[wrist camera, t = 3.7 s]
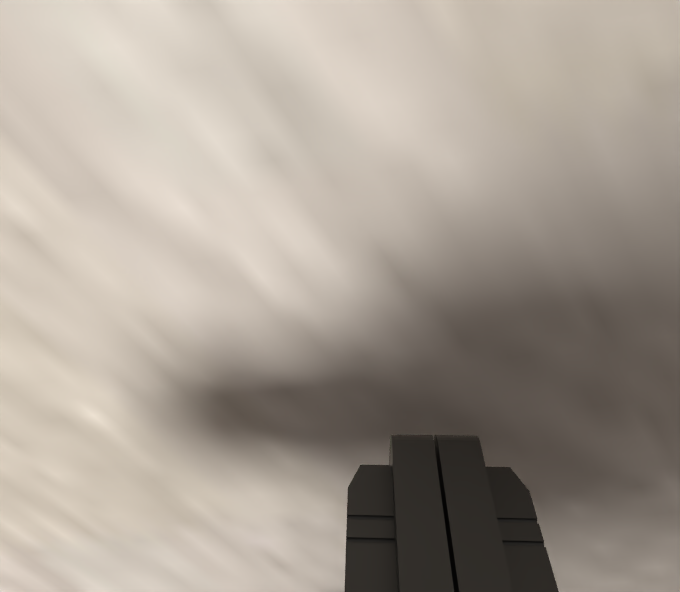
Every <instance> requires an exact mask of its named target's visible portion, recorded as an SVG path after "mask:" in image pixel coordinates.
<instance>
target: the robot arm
mask: <svg viewBox="0 0 680 592" xmlns="http://www.w3.org/2000/svg"><path fill="white" fill-rule="evenodd" d="M345 592H559V591H558V588H557V584H556V581H555V578H554V574H553V571H552V567H551V564H550V561H549V557H548V554H547V550H546V547H544V540H543V537H542V533H541V530H540V527H539V524H537V516H536V513H535V510H534V506H533V503H532V499H531V496H530V492H529V490H528V489H527V488H526V487H525V485H524V484H523V483H522V482H521V481H520V479H519V478H518V477H517V476H516V474H515V473H514V472H513V471H512V469H511V468H510V467H485V462H484V458H483V453H482V449H481V445H480V441H479V438H478V436H456V435H435V437H434V440H433V436H432V435H391V436H390V456H389V465H360V467H359V469H358V471H357V473H356V474H355V476H354V478H353V480H352V481H351V483H350V485H349V487H348V503H347V536H346V568H345Z"/></svg>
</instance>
